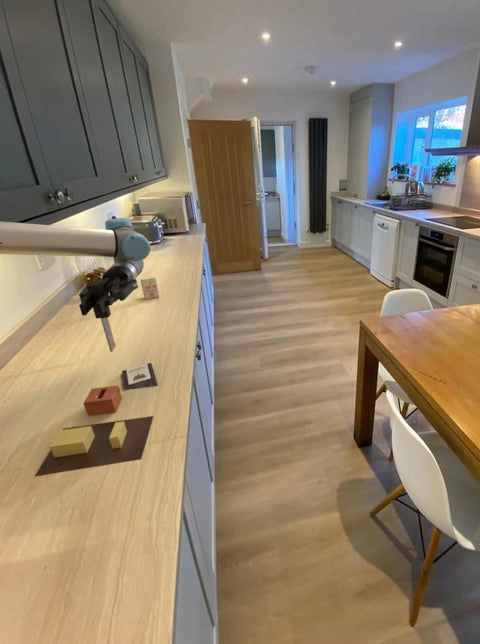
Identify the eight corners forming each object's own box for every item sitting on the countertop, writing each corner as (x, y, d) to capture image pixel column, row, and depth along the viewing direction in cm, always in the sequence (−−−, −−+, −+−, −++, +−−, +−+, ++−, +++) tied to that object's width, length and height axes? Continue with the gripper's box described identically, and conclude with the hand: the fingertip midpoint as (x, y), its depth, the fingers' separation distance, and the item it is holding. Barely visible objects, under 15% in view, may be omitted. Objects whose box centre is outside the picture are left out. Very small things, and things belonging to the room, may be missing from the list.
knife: (105, 352, 86) (85, 286, 78) (108, 346, 89) (90, 282, 81) (117, 351, 87) (98, 285, 79) (120, 345, 90) (103, 281, 82)
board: (36, 481, 71) (34, 476, 71) (64, 432, 84) (63, 428, 83) (142, 463, 75) (141, 459, 75) (154, 419, 88) (153, 415, 87)
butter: (54, 457, 75) (49, 446, 74) (63, 440, 79) (59, 430, 78) (87, 452, 76) (83, 441, 75) (94, 436, 81) (91, 425, 79)
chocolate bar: (126, 403, 92) (121, 370, 106) (127, 406, 92) (122, 373, 106) (160, 392, 96) (151, 362, 110) (160, 395, 97) (151, 365, 111)
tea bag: (144, 297, 165) (140, 278, 161) (158, 294, 167) (155, 276, 163) (144, 299, 162) (140, 281, 158) (159, 297, 164) (155, 278, 160)
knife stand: (89, 420, 88) (83, 402, 85) (97, 405, 93) (91, 388, 91) (117, 416, 89) (111, 399, 87) (123, 401, 94) (118, 385, 92)
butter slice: (112, 448, 77) (108, 438, 76) (118, 432, 82) (115, 422, 80) (121, 447, 78) (118, 436, 76) (127, 431, 82) (124, 421, 81)
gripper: (150, 286, 101) (130, 320, 80) (94, 290, 98) (58, 326, 77) (145, 263, 98) (123, 292, 77) (87, 266, 95) (48, 298, 74)
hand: (91, 309), depth 77 cm, fingers closed on knife, 3 cm apart
